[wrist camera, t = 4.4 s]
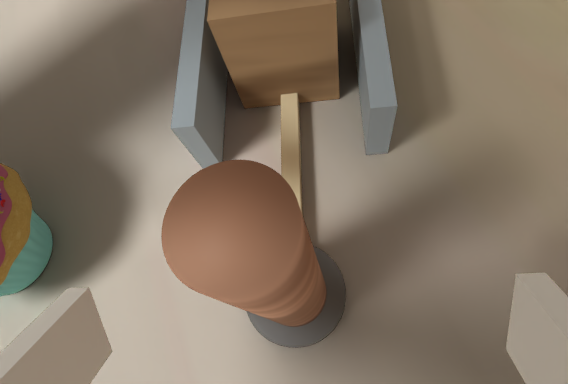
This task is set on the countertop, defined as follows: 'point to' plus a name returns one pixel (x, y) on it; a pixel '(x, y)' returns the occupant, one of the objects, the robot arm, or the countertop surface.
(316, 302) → the tethered block
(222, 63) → the lane
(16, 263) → the cupcake
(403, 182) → the countertop surface
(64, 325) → the robot arm
